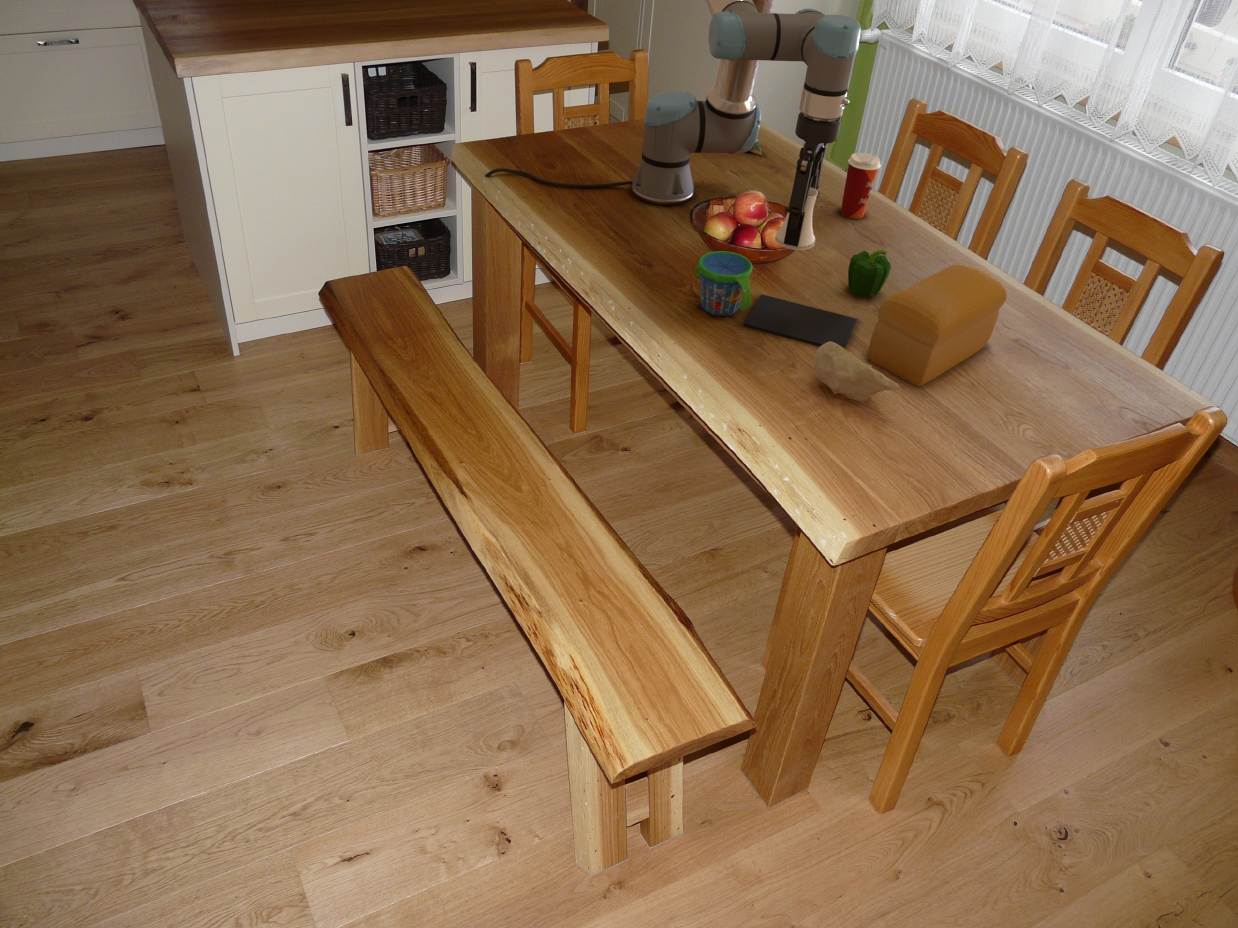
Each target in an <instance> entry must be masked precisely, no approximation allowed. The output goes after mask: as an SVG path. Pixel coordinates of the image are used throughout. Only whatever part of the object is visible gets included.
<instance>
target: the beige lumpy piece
mask: <svg viewBox="0 0 1238 928" xmlns="http://www.w3.org/2000/svg"><path fill="white" fill-rule="evenodd" d="M813 368H814V372H815V374H816V376H817V379H818V380H819V381H820V382H821V383H823V384H824V385H826V386H827V387H828V388H829V389H830V390H831V391H832V393H833V394H834V395H838V394H841V395H844V396H845V397H846V398H847V399H851V400H854V401H859V402H860V403H864V402H866V401H867V400H868V399H869V398H870V397H871V396H873V395H877V394H878V393H881V392H884V391H890V392H891V391H895V390H896V391H897V390H898V389H900V385H899V384H898V383H896V382H895V381H893V380H892V379H890V378H888V377H887V376H885V374H884V373H882V372H881V371H878V370H876V369H875V368H873V366H872V365H871V364H870V363H868V362H864V361H862V360H860V359H859V358H858V357H857V356H855V354H854V353H852V352H851V351H849V350H848V349H846V348H842V347H841V346H839V345H838V344H836V343H834V342H830V341H829V342H827V343H825V344H823V345H822V346H818V348H817V351H816V352H815V355H814V362H813Z"/></svg>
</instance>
